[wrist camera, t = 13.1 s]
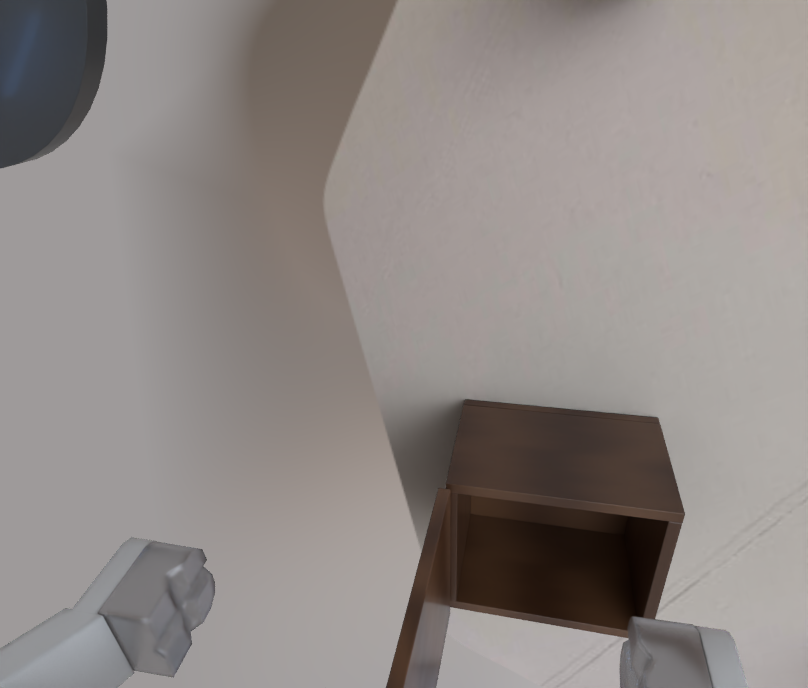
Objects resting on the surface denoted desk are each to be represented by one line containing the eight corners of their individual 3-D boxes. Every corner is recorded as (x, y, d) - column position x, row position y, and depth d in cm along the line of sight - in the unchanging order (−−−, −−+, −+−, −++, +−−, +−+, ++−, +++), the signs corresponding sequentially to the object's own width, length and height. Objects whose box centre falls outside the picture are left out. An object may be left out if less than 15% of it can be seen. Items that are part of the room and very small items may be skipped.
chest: (658, 417, 42) (685, 514, 34) (631, 535, 48) (648, 642, 40) (464, 398, 45) (445, 483, 37) (462, 512, 51) (445, 606, 43)
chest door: (389, 747, 23) (275, 718, 25) (401, 871, 30) (309, 843, 31) (450, 489, 36) (373, 478, 38) (450, 612, 43) (384, 600, 44)
